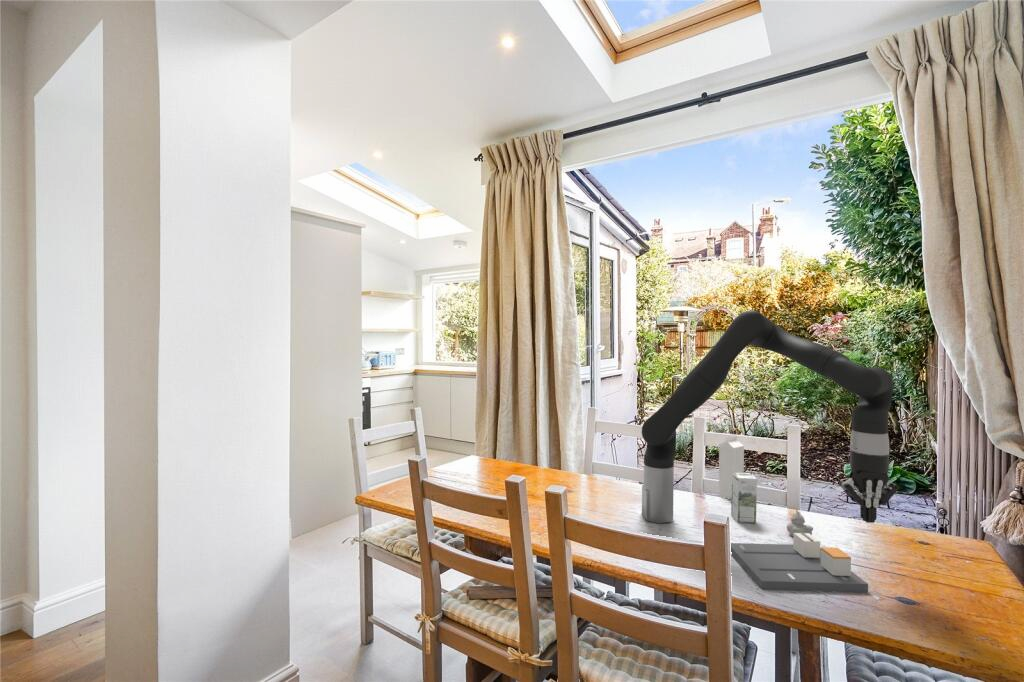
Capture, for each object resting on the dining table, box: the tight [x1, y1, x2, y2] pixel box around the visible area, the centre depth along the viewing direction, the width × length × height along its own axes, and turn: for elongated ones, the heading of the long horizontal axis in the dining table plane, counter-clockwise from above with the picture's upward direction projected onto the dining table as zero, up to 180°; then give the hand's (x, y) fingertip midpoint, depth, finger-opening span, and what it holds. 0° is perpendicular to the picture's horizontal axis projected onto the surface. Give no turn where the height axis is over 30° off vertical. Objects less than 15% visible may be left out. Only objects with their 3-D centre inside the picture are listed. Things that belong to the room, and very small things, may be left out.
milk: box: [718, 435, 745, 501], centre depth 173 cm, size 6×6×22 cm
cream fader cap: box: [792, 532, 821, 558], centre depth 124 cm, size 4×5×4 cm
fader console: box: [730, 542, 869, 593], centre depth 120 cm, size 24×20×2 cm
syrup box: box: [730, 472, 758, 524], centre depth 152 cm, size 6×6×14 cm
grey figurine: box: [786, 509, 814, 537], centre depth 139 cm, size 5×7×8 cm
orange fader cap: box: [820, 546, 852, 576], centre depth 115 cm, size 4×5×4 cm
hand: (868, 521), depth 115 cm, fingers closed
